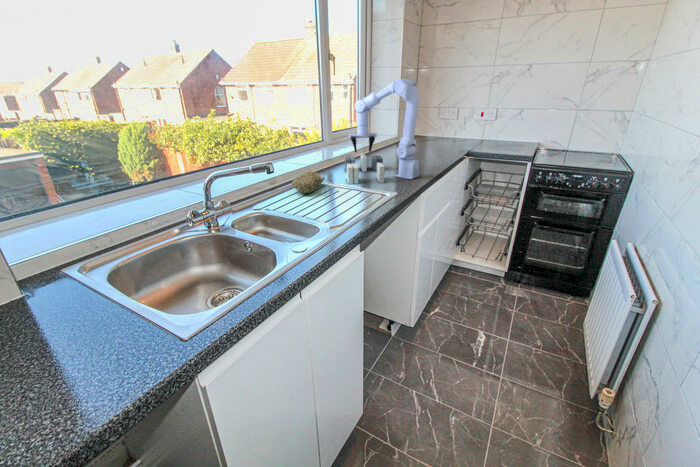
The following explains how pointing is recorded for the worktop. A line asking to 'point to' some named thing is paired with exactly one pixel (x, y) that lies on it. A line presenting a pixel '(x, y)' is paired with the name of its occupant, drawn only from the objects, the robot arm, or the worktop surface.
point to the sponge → (307, 182)
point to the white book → (363, 162)
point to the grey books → (373, 161)
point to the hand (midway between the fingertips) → (362, 151)
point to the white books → (354, 173)
